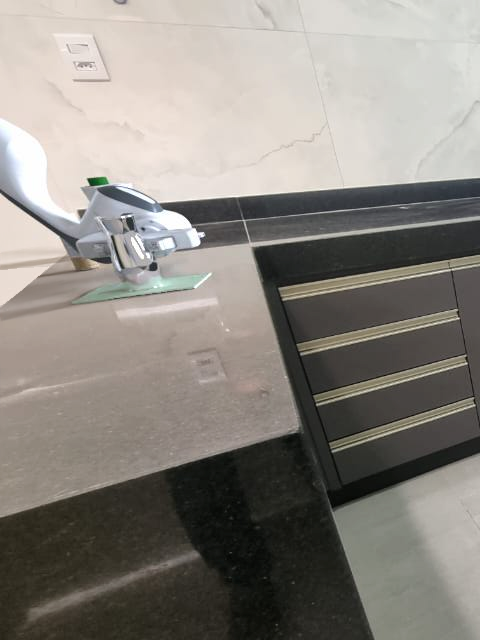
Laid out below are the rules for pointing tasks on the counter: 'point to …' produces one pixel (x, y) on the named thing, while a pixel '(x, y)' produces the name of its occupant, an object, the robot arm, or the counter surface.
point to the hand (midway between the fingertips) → (128, 249)
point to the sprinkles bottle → (78, 256)
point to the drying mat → (120, 290)
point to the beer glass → (130, 253)
